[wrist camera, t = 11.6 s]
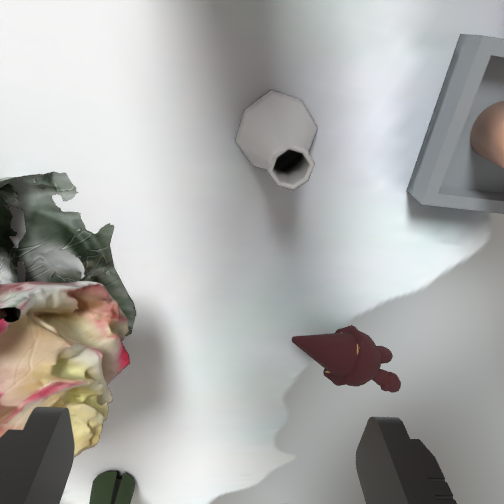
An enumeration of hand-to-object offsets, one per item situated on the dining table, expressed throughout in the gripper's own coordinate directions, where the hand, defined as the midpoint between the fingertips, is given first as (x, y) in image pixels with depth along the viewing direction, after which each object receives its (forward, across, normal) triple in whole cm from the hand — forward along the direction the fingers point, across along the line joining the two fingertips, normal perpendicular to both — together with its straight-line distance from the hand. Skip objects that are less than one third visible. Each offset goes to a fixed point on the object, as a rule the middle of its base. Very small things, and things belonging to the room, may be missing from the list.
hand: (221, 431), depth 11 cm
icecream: (+30, -16, +23) cm, 42 cm away
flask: (+31, -5, -1) cm, 31 cm away
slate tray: (+30, -25, -3) cm, 39 cm away
